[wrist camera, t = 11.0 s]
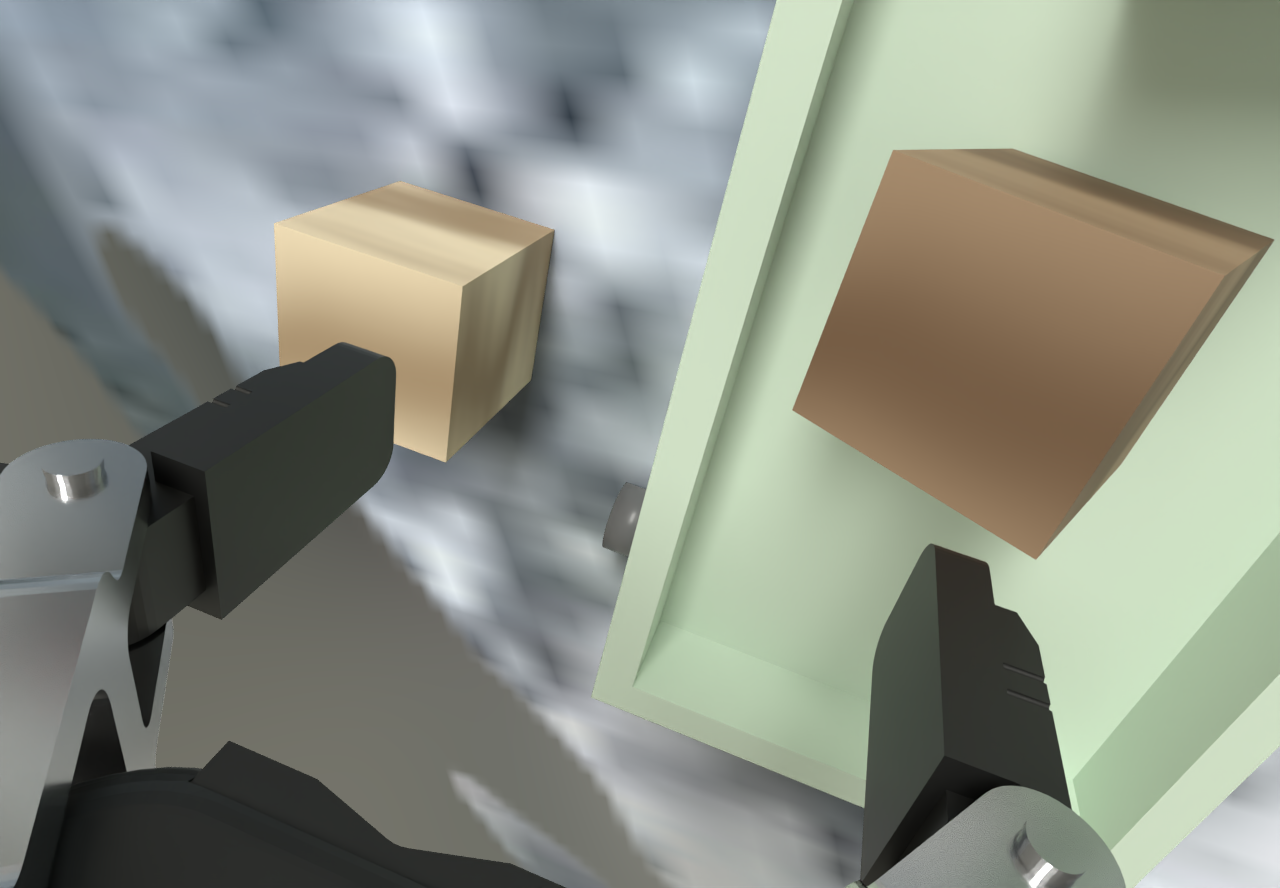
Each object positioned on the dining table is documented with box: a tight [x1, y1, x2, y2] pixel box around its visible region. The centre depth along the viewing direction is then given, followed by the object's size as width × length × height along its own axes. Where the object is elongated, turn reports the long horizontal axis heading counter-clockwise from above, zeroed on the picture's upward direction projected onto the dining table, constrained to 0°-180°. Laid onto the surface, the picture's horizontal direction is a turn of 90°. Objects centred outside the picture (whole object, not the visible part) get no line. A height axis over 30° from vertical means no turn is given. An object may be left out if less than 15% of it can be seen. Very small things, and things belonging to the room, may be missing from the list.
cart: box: [591, 0, 1280, 888], centre depth 15 cm, size 27×16×4 cm, turn 167°
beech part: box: [274, 181, 554, 462], centre depth 20 cm, size 4×4×5 cm
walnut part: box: [792, 148, 1274, 560], centre depth 13 cm, size 4×4×5 cm
